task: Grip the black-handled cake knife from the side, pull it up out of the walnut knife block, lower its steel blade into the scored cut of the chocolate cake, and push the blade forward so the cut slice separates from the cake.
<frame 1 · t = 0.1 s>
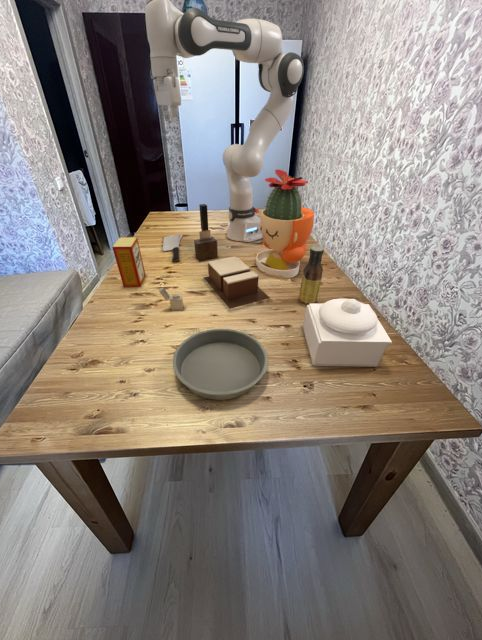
hand: (170, 121, 108), 48 cm above the table, tool pointing down, fingers open, 8 cm apart
potted cactus: (281, 266, 123), on the table
white lidded canister: (337, 345, 83), on the table
cake slice: (240, 293, 104), point 1 cm above the table, touching cake board
sauce bottle: (306, 303, 101), on the table
cake pan: (220, 369, 76), on the table
knife block: (206, 257, 129), on the table
cake: (228, 273, 109), on the cake board, point 4 cm above the table
baking soda box: (135, 281, 113), on the table
lighter: (173, 309, 98), on the table
kitchen cleaver: (172, 249, 138), on the table
cake knife: (205, 232, 122), in the knife block
cake board: (234, 289, 108), on the table
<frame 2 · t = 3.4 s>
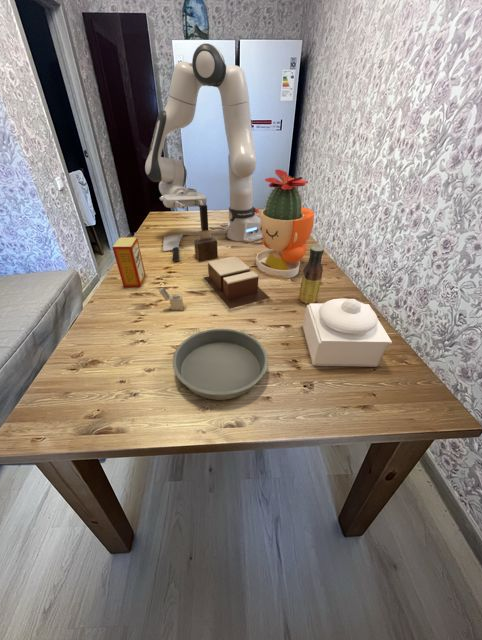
hand: (192, 206, 125), 19 cm above the table, tool horizontal, fingers open, 8 cm apart
nothing on the table moved.
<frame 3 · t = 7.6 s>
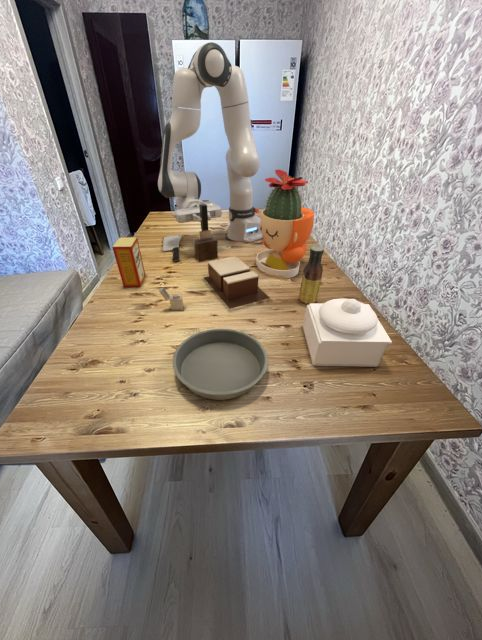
hand: (204, 219, 118), 17 cm above the table, tool horizontal, fingers closed on cake knife, 2 cm apart
cake knife: (204, 232, 122), in the knife block, touching gripper
everything else where it was.
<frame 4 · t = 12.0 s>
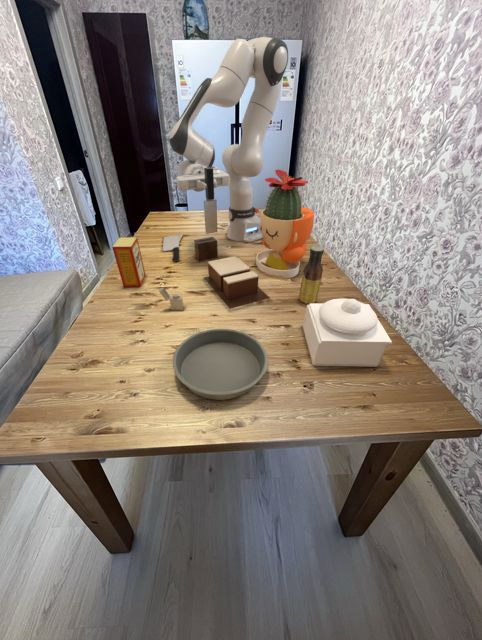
hand: (210, 185, 102), 31 cm above the table, tool horizontal, fingers closed on cake knife, 2 cm apart
cake knife: (210, 202, 106), point 25 cm above the table, touching gripper
everything else where it was.
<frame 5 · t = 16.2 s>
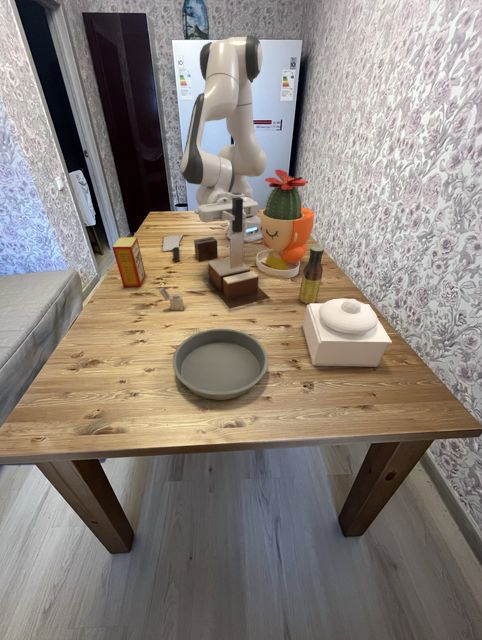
hand: (238, 217, 88), 27 cm above the table, tool horizontal, fingers closed on cake knife, 2 cm apart
cake knife: (237, 235, 93), point 21 cm above the table, touching gripper
everything else where it was.
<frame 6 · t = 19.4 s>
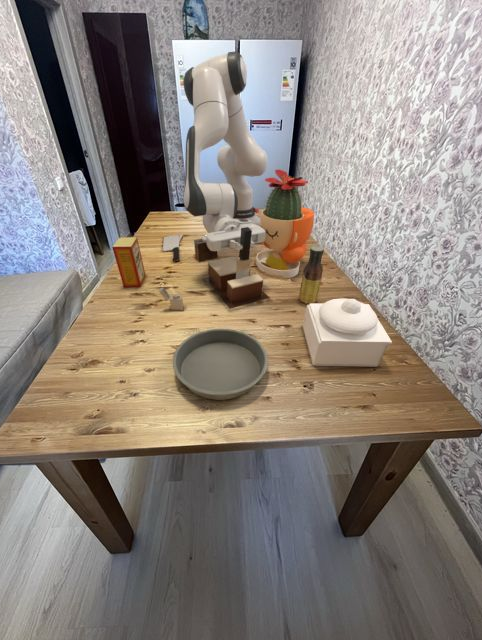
hand: (246, 246, 89), 19 cm above the table, tool horizontal, fingers closed on cake knife, 2 cm apart
cake slice: (244, 295, 102), point 1 cm above the table, tilted 6°, touching cake board, cake knife
cake knife: (243, 262, 94), point 14 cm above the table, tilted 6°, touching cake slice, gripper
everything else where it was.
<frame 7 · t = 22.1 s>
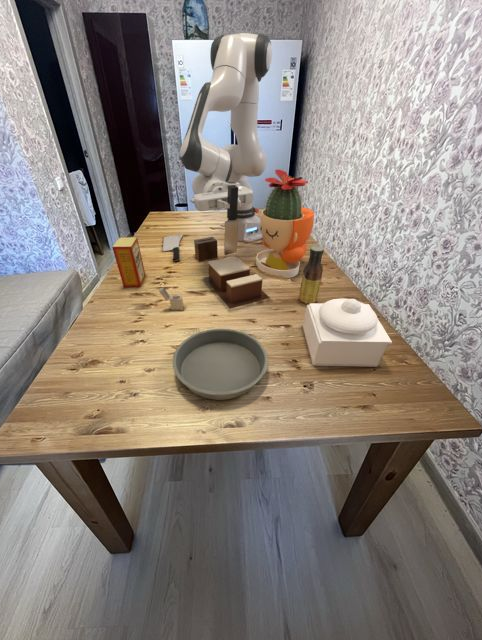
hand: (233, 205, 90), 29 cm above the table, tool horizontal, fingers closed on cake knife, 2 cm apart
cake slice: (244, 296, 102), point 1 cm above the table, touching cake board
cake knife: (231, 223, 95), point 23 cm above the table, tilted 7°, touching gripper
everything else where it was.
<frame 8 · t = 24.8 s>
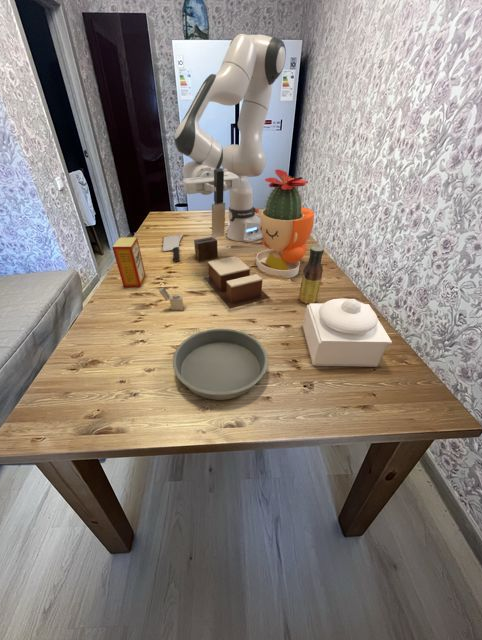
hand: (219, 188, 94), 32 cm above the table, tool horizontal, fingers closed on cake knife, 2 cm apart
cake knife: (218, 206, 99), point 26 cm above the table, tilted 6°, touching gripper
everything else where it was.
at the end: cake slice 2.8 cm from the target spot on the table beside the cake, point 1.0 cm above the table; cake slice touching cake board; cake knife moved 22.8 cm from its start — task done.
